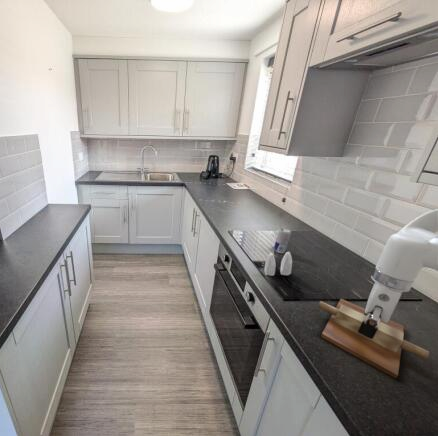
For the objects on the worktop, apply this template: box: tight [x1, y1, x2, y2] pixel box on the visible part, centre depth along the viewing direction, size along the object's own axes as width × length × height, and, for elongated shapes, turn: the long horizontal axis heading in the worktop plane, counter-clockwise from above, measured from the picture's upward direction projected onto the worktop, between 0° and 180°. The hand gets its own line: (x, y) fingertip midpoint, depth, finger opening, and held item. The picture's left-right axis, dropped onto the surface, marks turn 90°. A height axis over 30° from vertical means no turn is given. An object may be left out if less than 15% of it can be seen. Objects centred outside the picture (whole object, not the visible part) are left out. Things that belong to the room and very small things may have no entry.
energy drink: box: [273, 227, 292, 254], centre depth 115 cm, size 5×5×12 cm
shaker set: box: [263, 251, 293, 277], centre depth 97 cm, size 12×4×11 cm, turn 89°
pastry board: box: [320, 298, 405, 379], centre depth 70 cm, size 24×16×2 cm, turn 131°
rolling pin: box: [317, 300, 430, 360], centre depth 68 cm, size 24×4×4 cm, turn 41°
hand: (367, 326), depth 68 cm, fingers open, 9 cm apart
